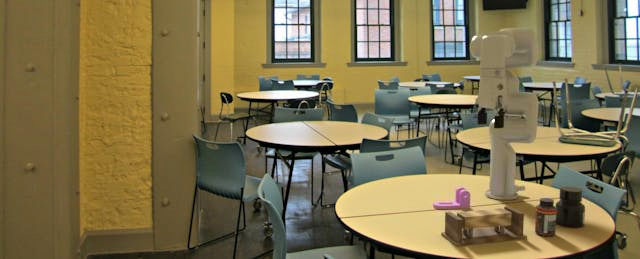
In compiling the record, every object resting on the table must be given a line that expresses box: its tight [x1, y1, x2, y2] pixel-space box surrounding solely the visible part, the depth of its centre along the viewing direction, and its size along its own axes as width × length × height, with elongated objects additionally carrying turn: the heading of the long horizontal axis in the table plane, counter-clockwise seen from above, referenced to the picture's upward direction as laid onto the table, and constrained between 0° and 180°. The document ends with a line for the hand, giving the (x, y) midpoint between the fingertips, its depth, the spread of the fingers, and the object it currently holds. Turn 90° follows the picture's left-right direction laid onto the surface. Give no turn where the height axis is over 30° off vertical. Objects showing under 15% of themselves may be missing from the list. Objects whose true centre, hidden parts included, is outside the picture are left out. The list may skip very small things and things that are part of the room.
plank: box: [456, 207, 512, 230], centre depth 159 cm, size 16×5×4 cm, turn 104°
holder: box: [440, 205, 528, 247], centre depth 159 cm, size 24×10×8 cm, turn 104°
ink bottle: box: [554, 186, 586, 228], centre depth 170 cm, size 10×9×12 cm
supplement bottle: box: [534, 197, 557, 237], centre depth 161 cm, size 6×6×11 cm
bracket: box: [432, 186, 471, 210], centre depth 192 cm, size 13×6×7 cm, turn 93°
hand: (490, 126), depth 168 cm, fingers open, 9 cm apart
